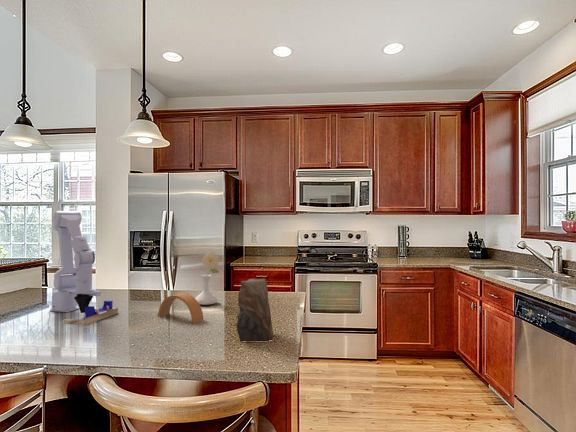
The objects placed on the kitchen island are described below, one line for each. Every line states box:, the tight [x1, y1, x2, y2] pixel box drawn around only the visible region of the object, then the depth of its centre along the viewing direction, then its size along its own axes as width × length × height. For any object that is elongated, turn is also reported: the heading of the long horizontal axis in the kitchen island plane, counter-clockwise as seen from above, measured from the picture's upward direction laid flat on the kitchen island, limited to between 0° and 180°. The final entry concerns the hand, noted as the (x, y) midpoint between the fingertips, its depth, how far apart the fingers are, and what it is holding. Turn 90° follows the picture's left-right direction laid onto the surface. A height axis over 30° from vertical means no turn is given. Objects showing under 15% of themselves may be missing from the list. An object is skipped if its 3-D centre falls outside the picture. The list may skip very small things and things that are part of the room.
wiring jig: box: [62, 306, 119, 325], centre depth 150 cm, size 11×18×4 cm, turn 168°
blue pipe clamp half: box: [84, 299, 114, 319], centre depth 150 cm, size 12×4×6 cm, turn 168°
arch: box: [157, 292, 204, 325], centre depth 150 cm, size 6×20×10 cm, turn 60°
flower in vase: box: [194, 252, 220, 306], centre depth 175 cm, size 13×11×25 cm
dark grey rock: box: [236, 277, 274, 342], centre depth 128 cm, size 13×13×20 cm
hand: (83, 312), depth 150 cm, fingers closed
